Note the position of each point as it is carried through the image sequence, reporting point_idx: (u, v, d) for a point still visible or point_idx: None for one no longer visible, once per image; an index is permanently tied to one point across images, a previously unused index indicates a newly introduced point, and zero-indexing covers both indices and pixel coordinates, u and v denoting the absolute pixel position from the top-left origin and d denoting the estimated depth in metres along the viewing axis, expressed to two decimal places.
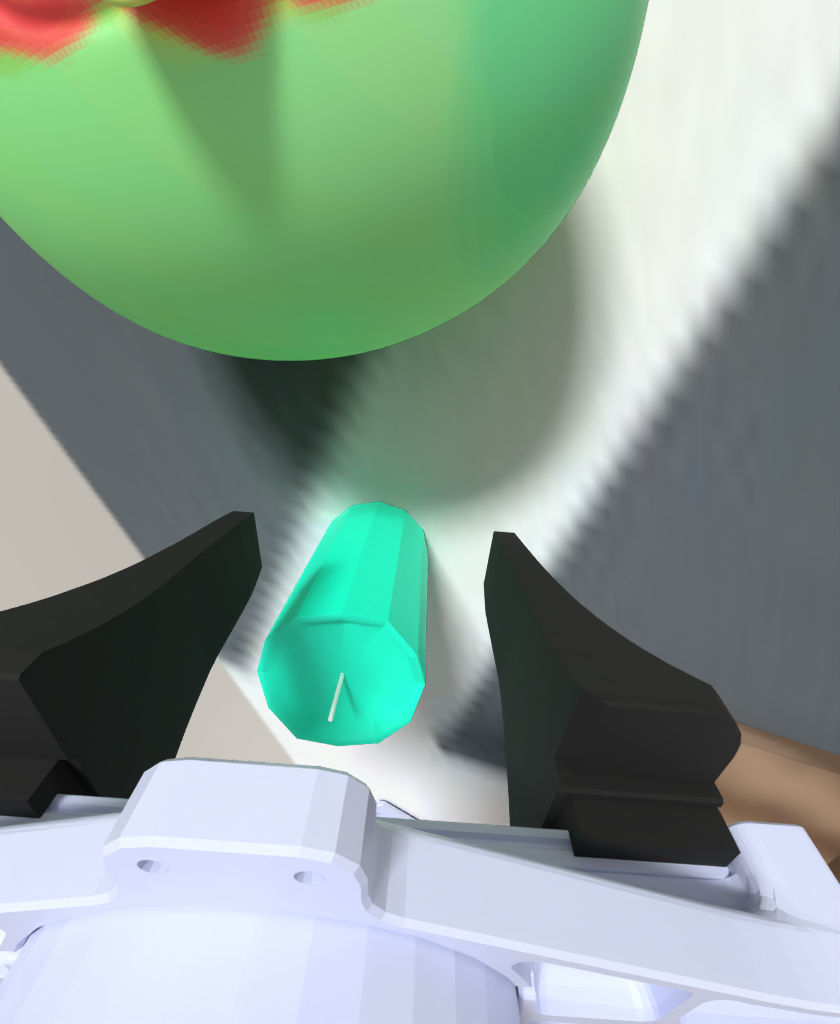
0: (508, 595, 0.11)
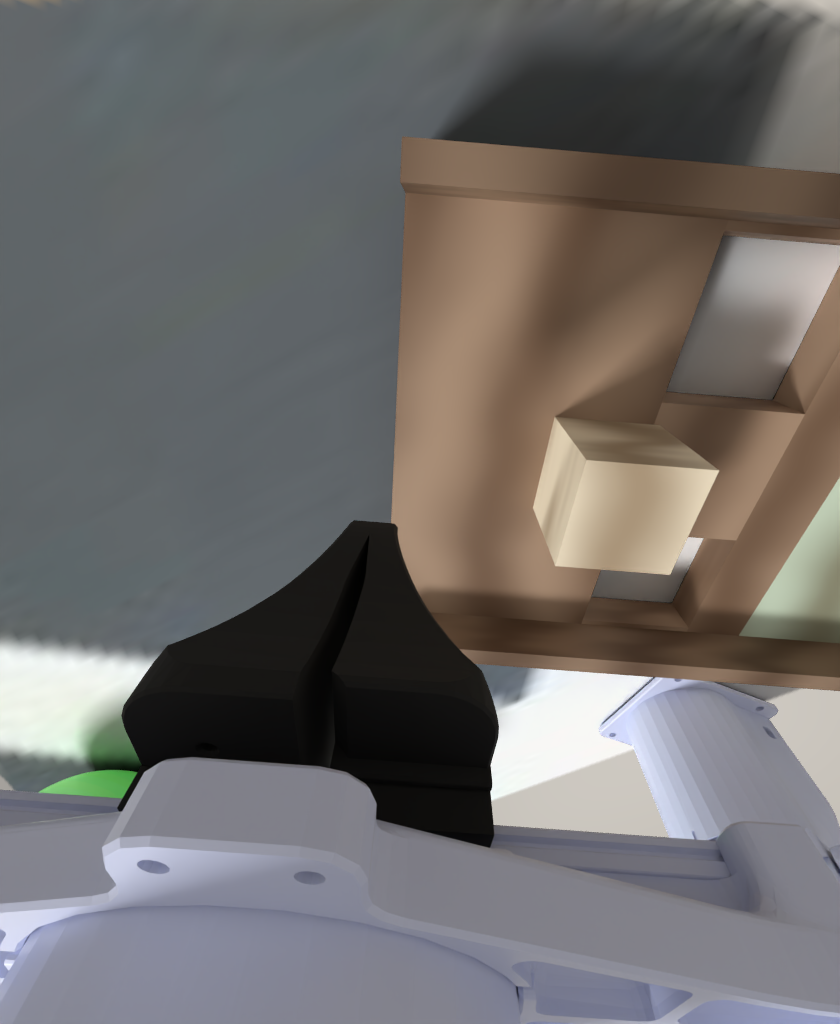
0: None
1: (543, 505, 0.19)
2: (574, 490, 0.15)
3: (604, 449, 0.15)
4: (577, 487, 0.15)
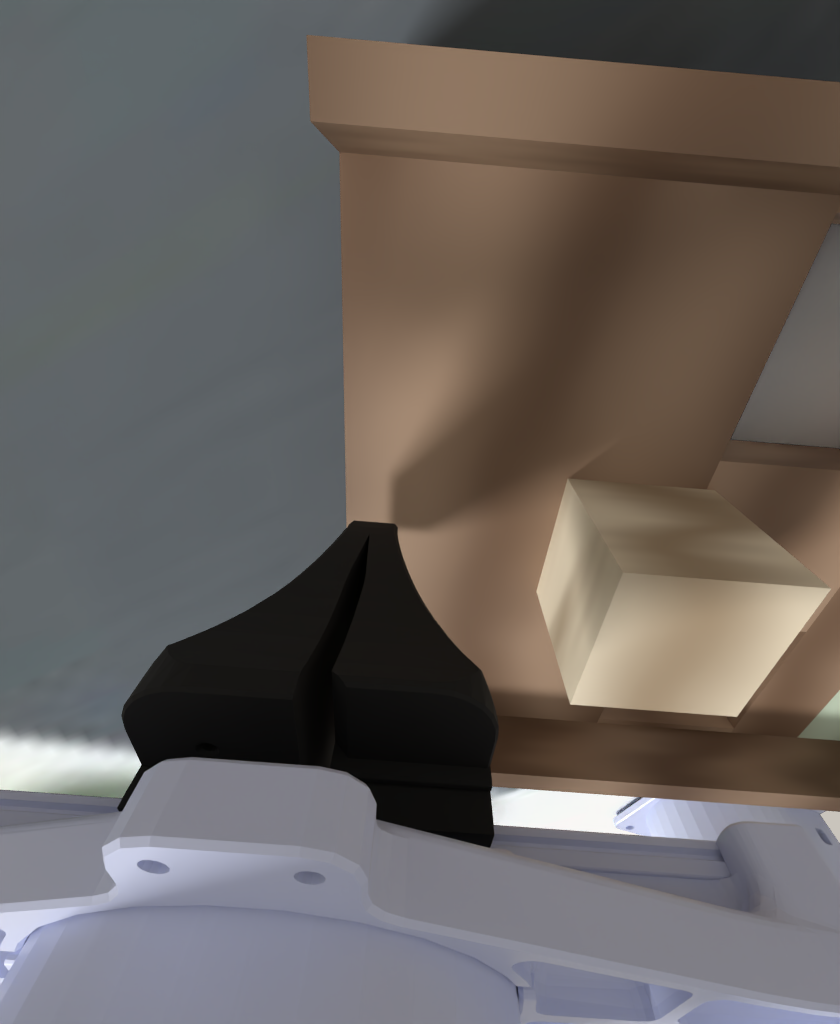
0: None
1: (551, 598, 0.14)
2: (601, 607, 0.10)
3: (647, 545, 0.10)
4: (607, 607, 0.10)
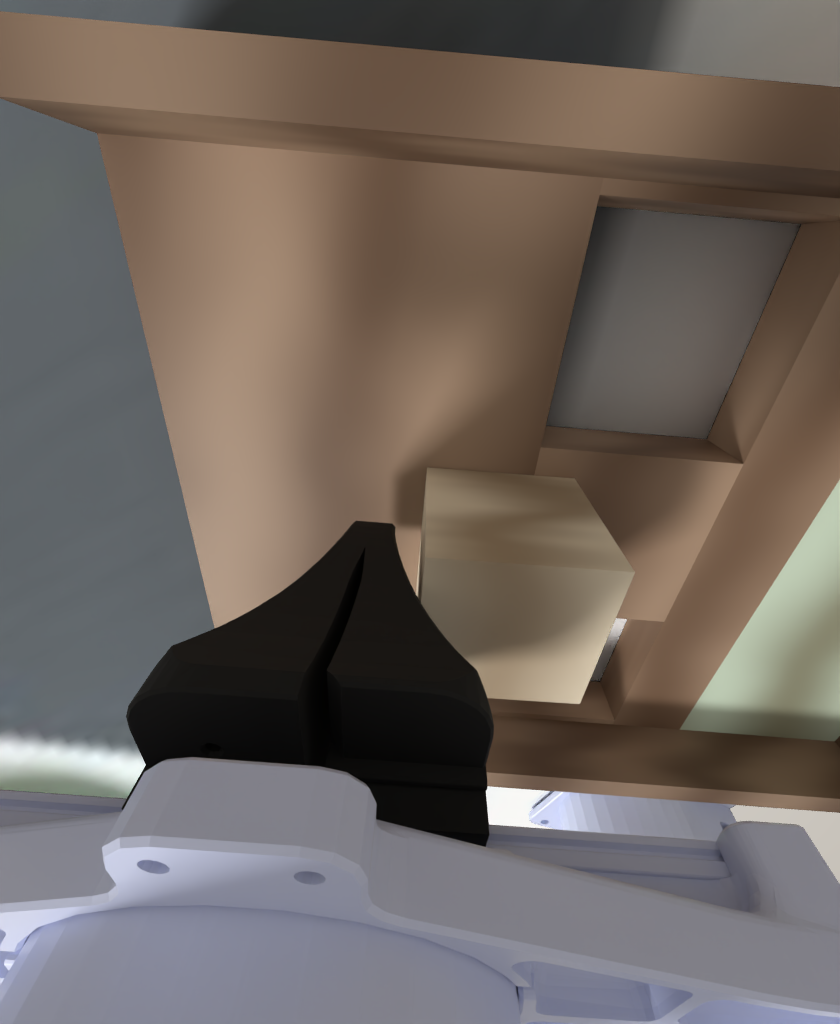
0: None
1: (417, 588, 0.14)
2: (420, 593, 0.10)
3: (468, 532, 0.10)
4: (421, 593, 0.10)
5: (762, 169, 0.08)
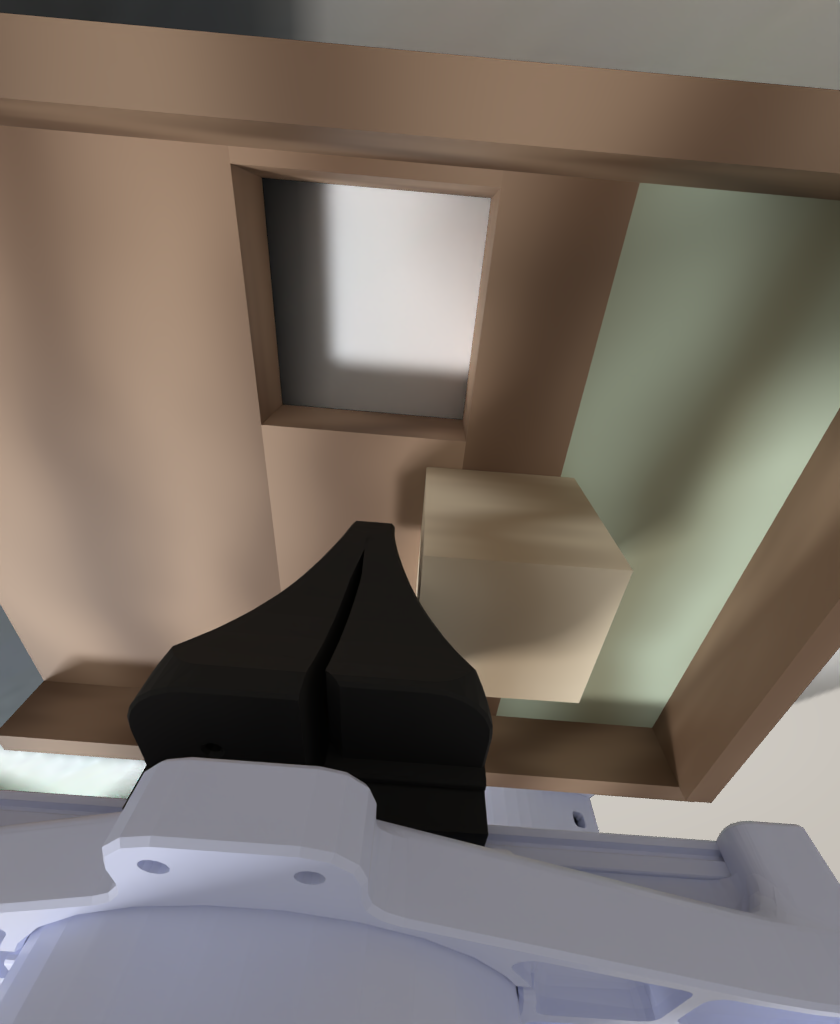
0: None
1: (417, 587, 0.14)
2: (420, 592, 0.10)
3: (467, 530, 0.10)
4: (420, 591, 0.10)
5: (300, 129, 0.08)
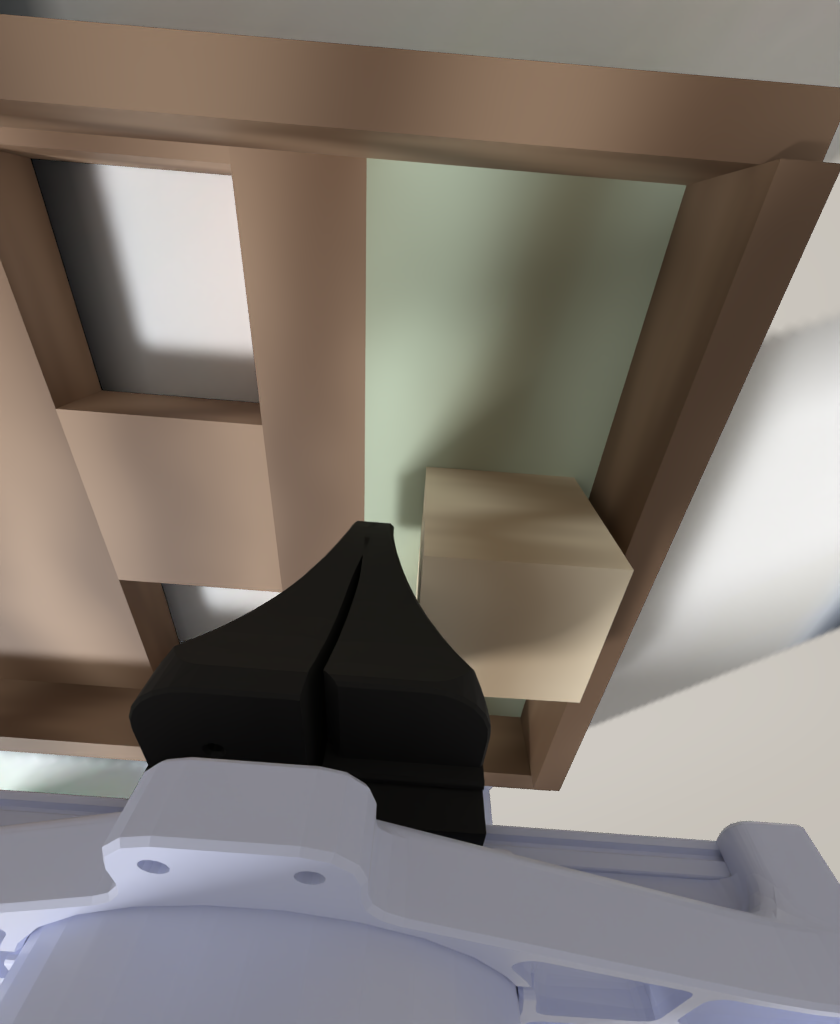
0: None
1: (417, 587, 0.14)
2: (420, 592, 0.10)
3: (467, 530, 0.10)
4: (420, 592, 0.10)
5: None
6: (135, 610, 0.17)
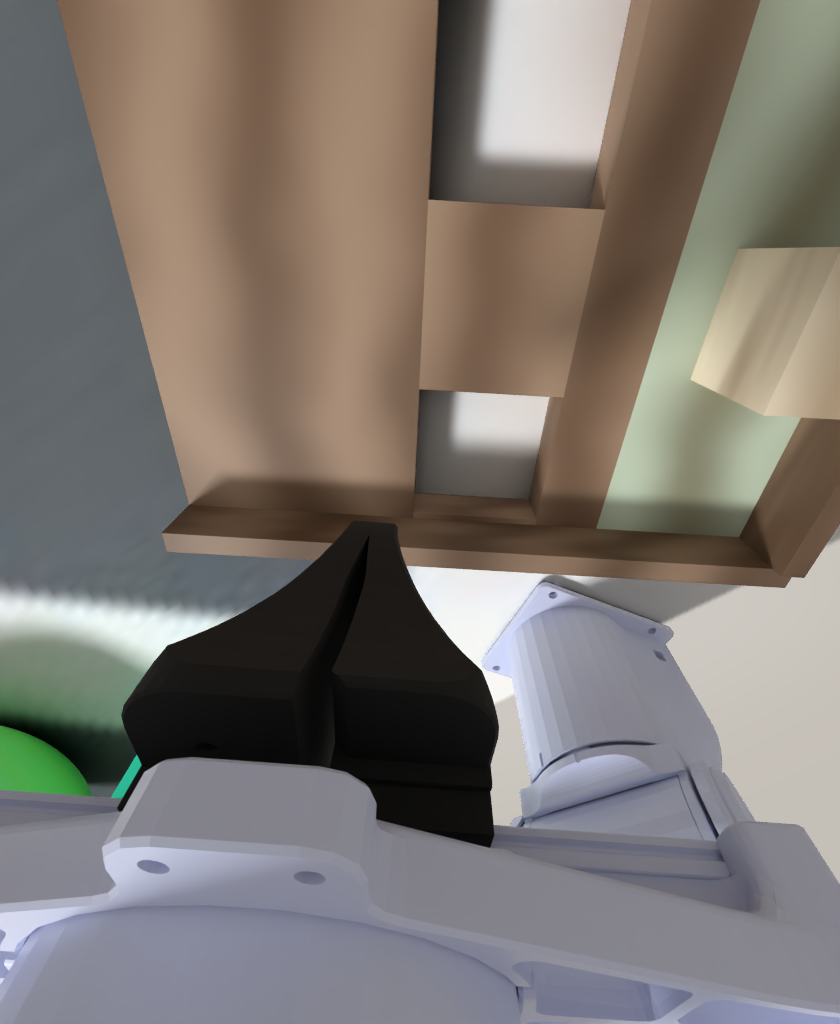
0: None
1: (719, 363, 0.16)
2: (808, 301, 0.12)
3: None
4: (819, 292, 0.12)
5: None
6: (417, 427, 0.19)
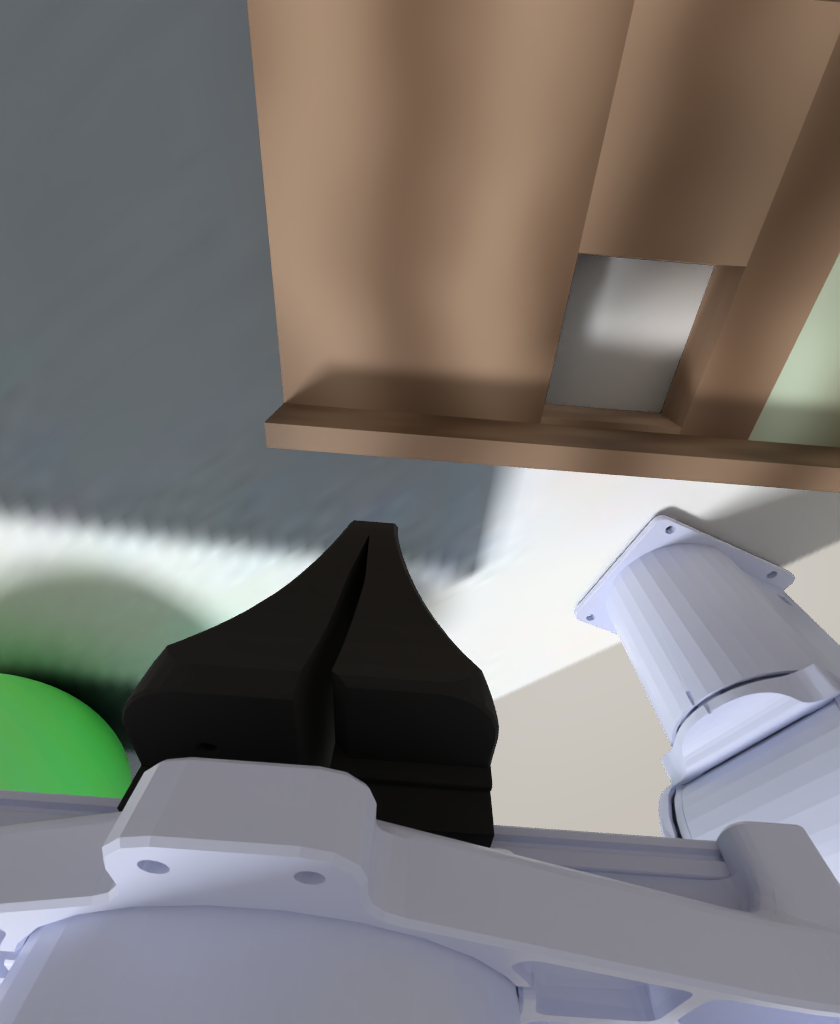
0: None
1: None
2: None
3: None
4: None
5: None
6: (564, 306, 0.16)
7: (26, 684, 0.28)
